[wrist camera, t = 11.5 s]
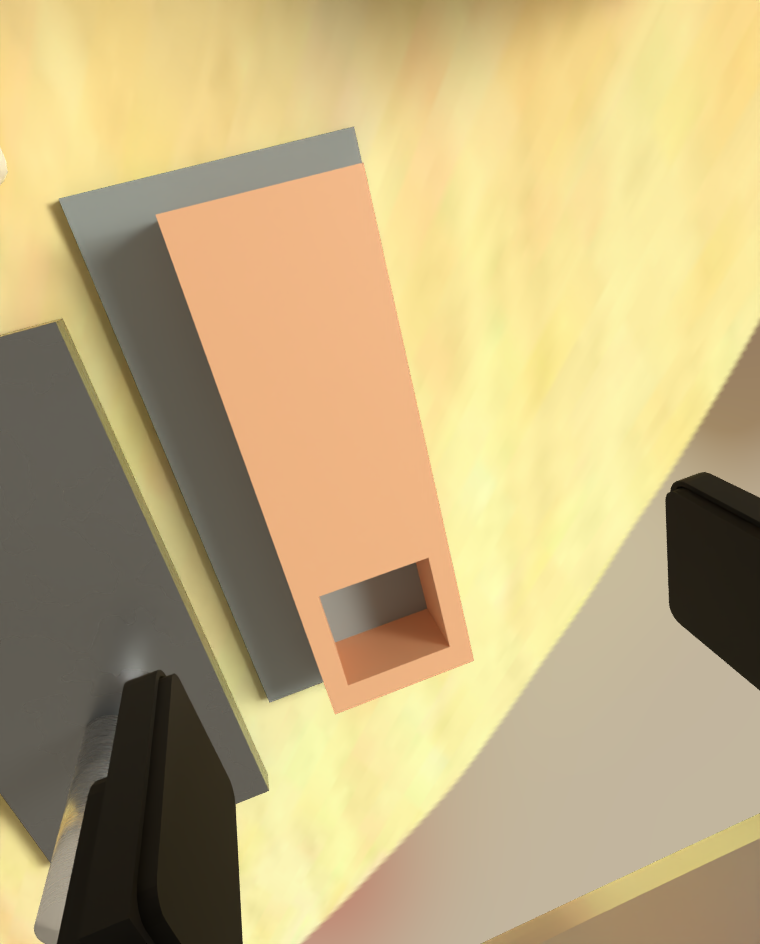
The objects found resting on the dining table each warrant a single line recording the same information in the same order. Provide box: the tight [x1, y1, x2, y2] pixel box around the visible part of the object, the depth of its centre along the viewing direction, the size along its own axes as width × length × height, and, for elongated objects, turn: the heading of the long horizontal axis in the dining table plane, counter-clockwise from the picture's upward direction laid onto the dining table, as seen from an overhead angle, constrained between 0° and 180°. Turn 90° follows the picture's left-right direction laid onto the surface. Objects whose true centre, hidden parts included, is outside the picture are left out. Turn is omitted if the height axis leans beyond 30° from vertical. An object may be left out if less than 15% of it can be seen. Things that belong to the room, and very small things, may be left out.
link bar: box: [156, 163, 474, 714], centre depth 23 cm, size 20×6×3 cm, turn 14°
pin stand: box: [0, 319, 269, 944], centre depth 21 cm, size 23×10×9 cm, turn 14°
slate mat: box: [59, 127, 427, 703], centre depth 25 cm, size 22×10×1 cm, turn 14°
